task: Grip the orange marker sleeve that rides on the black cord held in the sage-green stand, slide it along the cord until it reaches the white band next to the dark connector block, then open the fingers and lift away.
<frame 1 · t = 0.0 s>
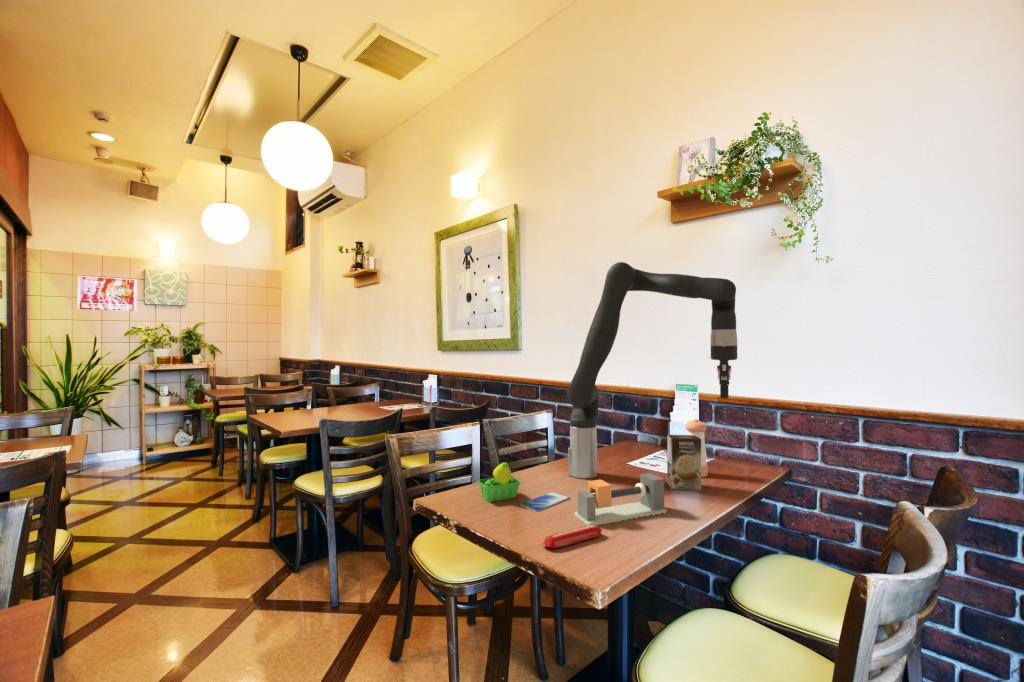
hand: (724, 396, 141), 29 cm above the table, tool pointing down, fingers open, 8 cm apart
coffee box: (684, 487, 146), on the table
marker sleeve: (599, 493, 121), point 6 cm above the table, slide at 0.0 cm
pepper shaker: (696, 474, 159), on the table
cord stand: (620, 514, 124), on the table
smartphone: (545, 503, 134), on the table
fruit basket: (500, 498, 138), on the table
candy bar: (573, 543, 107), on the table
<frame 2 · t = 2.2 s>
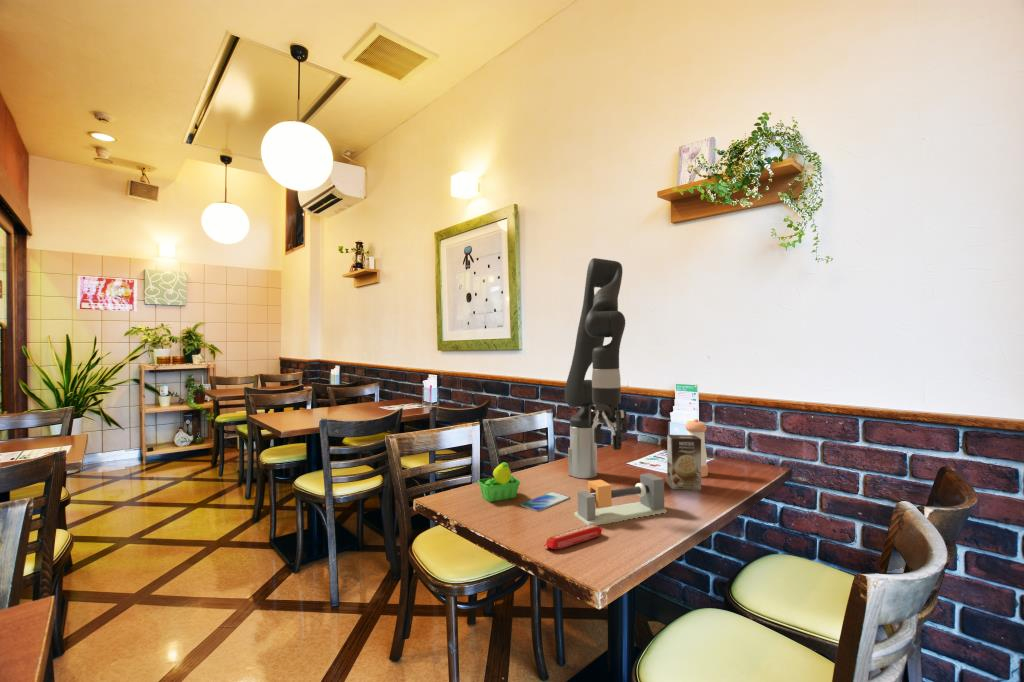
hand: (607, 446, 122), 19 cm above the table, tool pointing down, fingers open, 8 cm apart
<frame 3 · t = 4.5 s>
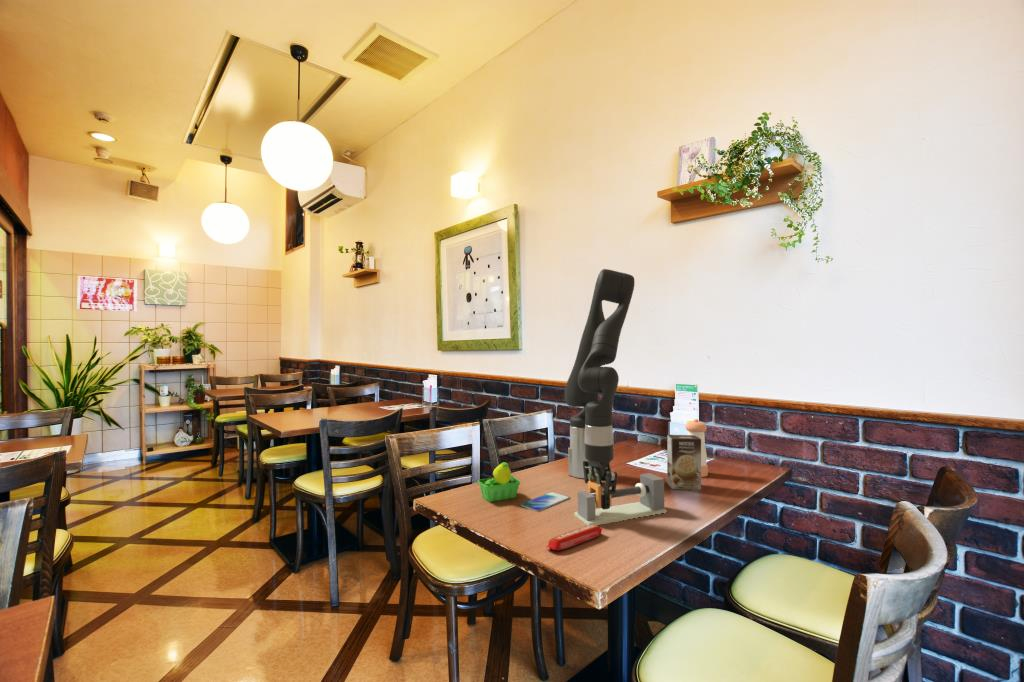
hand: (599, 504, 121), 3 cm above the table, tool pointing down, fingers closed on marker sleeve, 5 cm apart
marker sleeve: (599, 493, 121), point 6 cm above the table, slide at 0.0 cm, touching gripper
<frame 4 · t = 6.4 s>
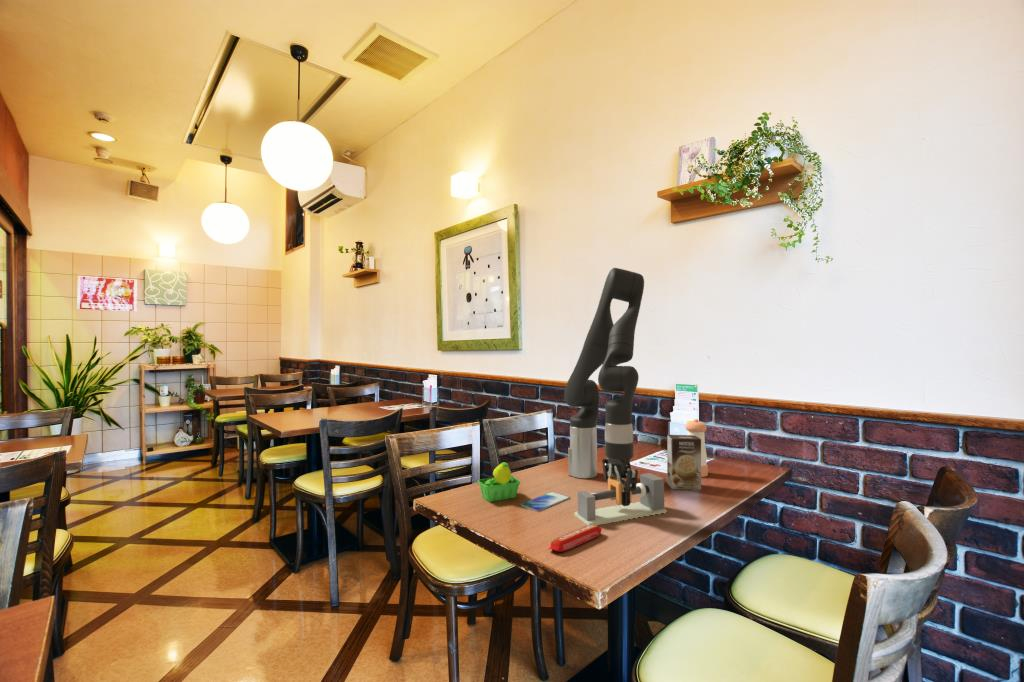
hand: (619, 501, 123), 3 cm above the table, tool pointing down, fingers closed on marker sleeve, 5 cm apart
marker sleeve: (619, 490, 123), point 6 cm above the table, slide at 6.2 cm, touching gripper
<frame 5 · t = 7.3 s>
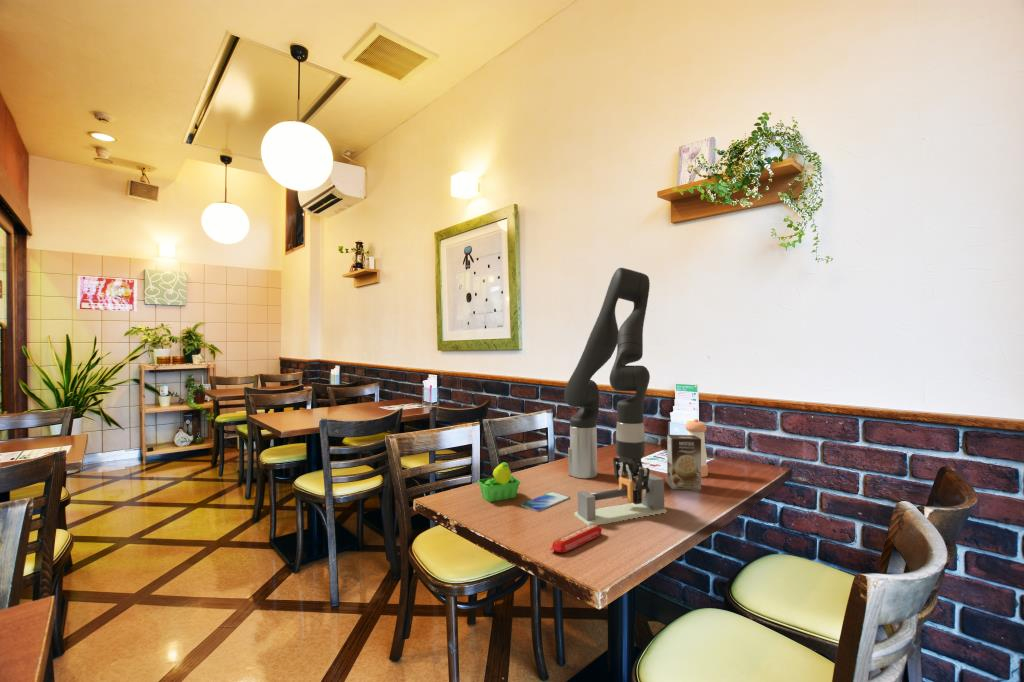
hand: (630, 499, 125), 3 cm above the table, tool pointing down, fingers closed on marker sleeve, 5 cm apart
marker sleeve: (630, 489, 125), point 6 cm above the table, slide at 9.8 cm, touching gripper
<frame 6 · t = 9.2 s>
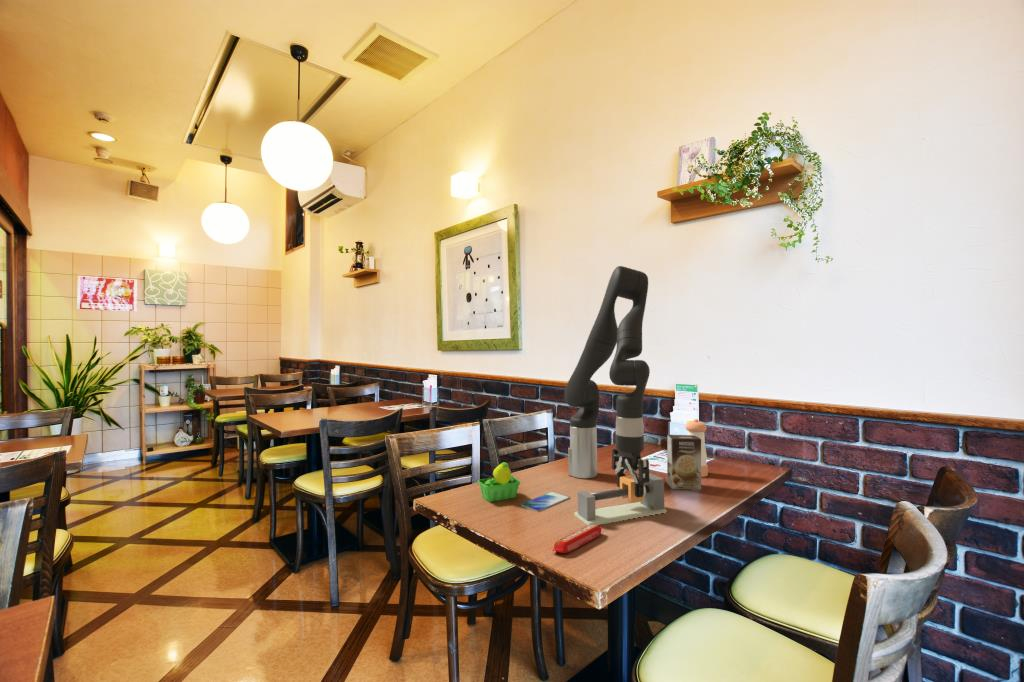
hand: (629, 491, 125), 6 cm above the table, tool pointing down, fingers open, 8 cm apart
marker sleeve: (631, 488, 125), point 6 cm above the table, slide at 10.0 cm
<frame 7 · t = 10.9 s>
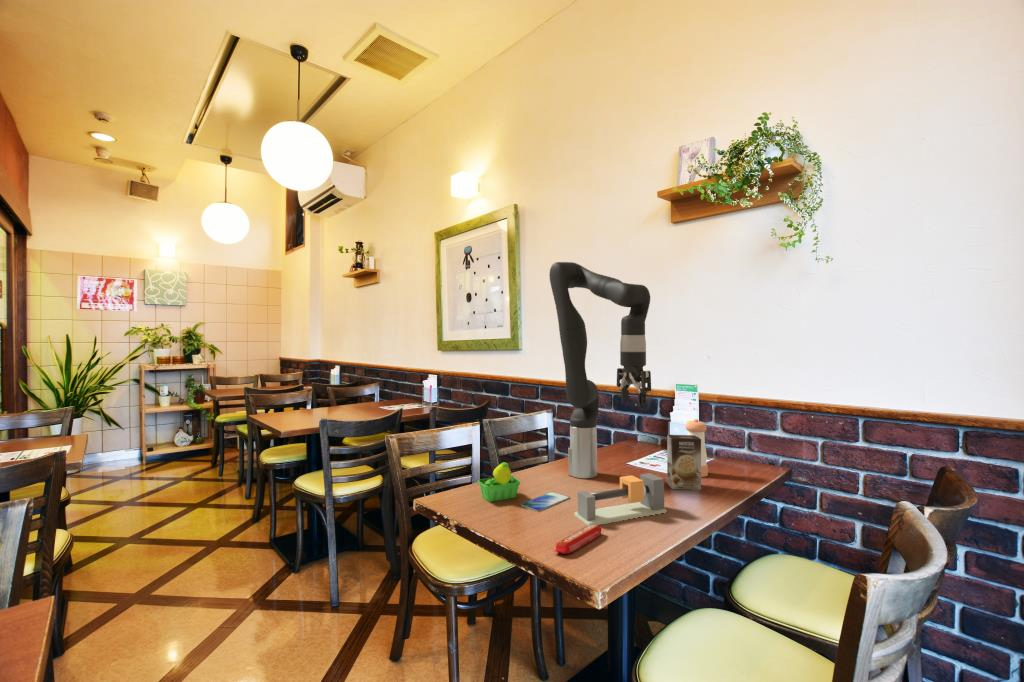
hand: (633, 403, 138), 28 cm above the table, tool pointing down, fingers open, 8 cm apart
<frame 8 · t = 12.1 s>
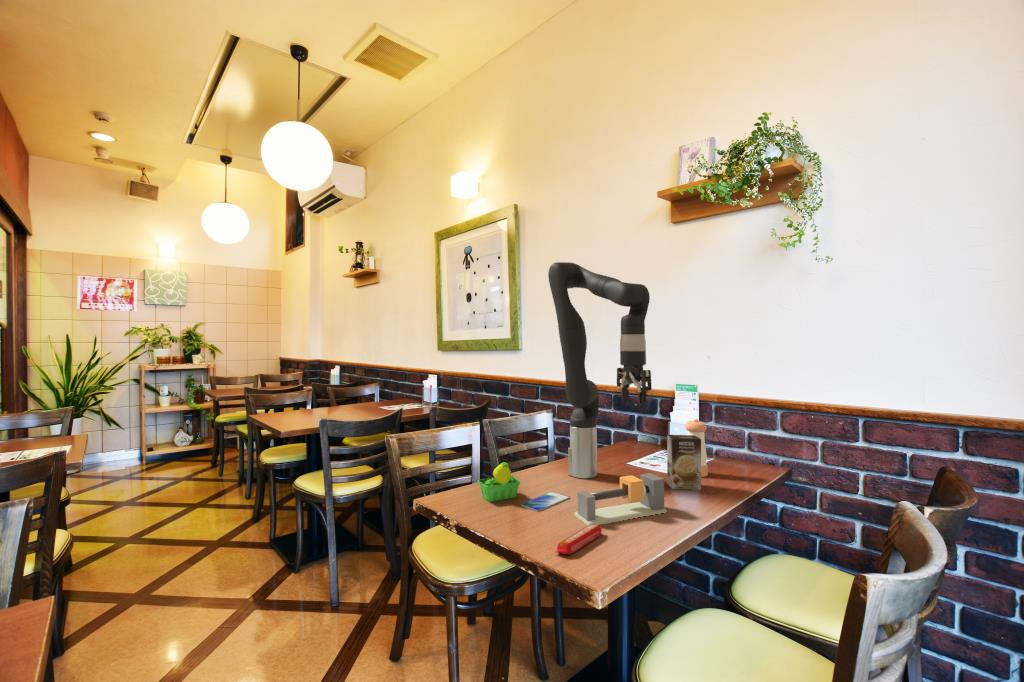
hand: (633, 403, 138), 28 cm above the table, tool pointing down, fingers open, 8 cm apart
at the end: marker sleeve slide at 10.0 cm; the gripper is holding nothing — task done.
